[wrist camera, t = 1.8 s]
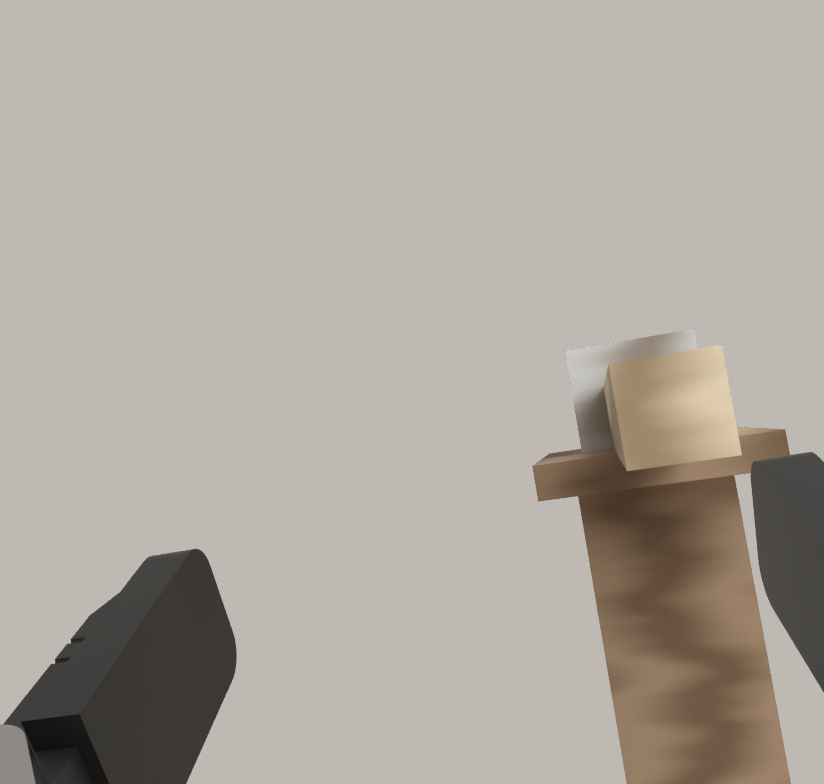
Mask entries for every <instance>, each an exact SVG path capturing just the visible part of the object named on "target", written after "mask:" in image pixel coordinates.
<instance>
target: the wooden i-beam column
mask: <svg viewBox="0 0 824 784" xmlns="http://www.w3.org/2000/svg"><path fill="white" fill-rule="evenodd" d="M737 431H738V436H739V441H740V447H741V452H742V455H740V456H733V457H726V458H719V459H711V460H704V461H697V462H690V463H683V464H675V465H668V466H661V467H654V468H647V469H639V470H632V471H627V470H626V469H625V467H624V465H623V464H622V462H621V460H620V458H619V457H618V455H617V453H616V451H615V450H614V449H612V450H606V451H599V452H592V453H585V454H582V449H578V450H571V451H564V452H557V453H551V454H548V455H547V456H546V457H544V458H543V459H541V460H540V461H539V462H537V463H536V464H535V465H533V472H534V478H535V484H536V490H537V496H538V501H544V500H552V499H559V498H567V497H574V496H578V497H579V503H580V508H581V515H582V521H583V526H584V533H585V539H586V544H587V550H588V556H589V562H590V568H591V574H592V580H593V586H594V592H595V598H596V604H597V610H598V616H599V622H600V627H601V633H602V639H603V645H604V651H605V657H606V663H607V669H608V675H609V680H610V686H611V693H612V699H613V705H614V710H615V716H616V722H617V728H618V734H619V740H620V746H621V752H622V758H623V763H624V770H625V776H626V782H627V784H791V783H790V777H789V772H788V766H787V761H786V755H785V750H784V744H783V739H782V734H781V728H780V722H779V718H778V712H777V706H776V701H775V696H774V690H773V684H772V679H771V674H770V668H769V663H768V657H767V652H766V646H765V641H764V635H763V630H762V624H761V620H760V613H759V608H758V602H757V597H756V592H755V586H754V581H753V575H752V570H751V564H750V559H749V553H748V548H747V543H746V537H745V532H744V526H743V521H742V515H741V510H740V504H739V499H738V494H737V488H736V482H735V478H734V475H739V474H746V473H751V467H752V463H753V462H754V461H757V460H764V459H770V458H776V457H782V456H789V455H790V453H789V448H788V443H787V437H786V432H785V430H784V429H766V428H748V427H737Z"/></svg>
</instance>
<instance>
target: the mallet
mask: <svg viewBox="0 0 824 784" xmlns="http://www.w3.org/2000/svg"><path fill="white" fill-rule="evenodd" d="M565 354H566V360H567V365H568V372H569V378H570V384H571V389H572V396H573V402H574V407H575V413H576V419H577V425H578V431H579V437H580V443H581V449H582V454H585V453H592V452H599V451H606V450H612V449H614V450H615V451H616V453H617V455H618V457H619V458H620V460H621V462H622V464H623V465H624V467H625V469H626V470H627V471H632V470H639V469H647V468H654V467H661V466H668V465H675V464H683V463H690V462H697V461H704V460H711V459H719V458H726V457H733V456H740V455H742V452H741V447H740V441H739V436H738V431H737V426H736V420H735V414H734V409H733V404H732V398H731V393H730V387H729V382H728V376H727V371H726V365H725V360H724V355H723V349H722V345H718V346H712V347H706V348H700V349H698V348H697V342H696V337H695V331H694V329H690V330H685V331H679V332H673V333H667V334H662V335H656V336H650V337H645V338H639V339H634V340H628V341H622V342H616V343H611V344H605V345H599V346H593V347H588V348H582V349H576V350H571V351H565Z"/></svg>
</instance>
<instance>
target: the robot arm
mask: <svg viewBox="0 0 824 784" xmlns="http://www.w3.org/2000/svg"><path fill="white" fill-rule="evenodd" d="M751 485H752V496H753V507H754V518H755V528H756V539H757V550H758V560H759V567H760V572H761V577H762V581H763V585H764V588H765V591H766V594H767V597H768V599H769V601H770V604H771V606H772V608H773V609H774V611H775V613H776V614H777V616H778V618H779V619H780V621H781V623H782V624H783V626H784V628H785V629H786V631H787V632H788V634H789V636H790V637H791V639H792V641H793V642H794V644H795V646H796V647H797V649H798V650H799V652H800V654H801V655H802V657H803V659H804V661H805V662H806V664H807V665H808V667H809V669H810V670H811V672H812V674H813V675H814V677H815V679H816V680H817V682H818V684H819V685H820V687H821V688H822V690H823V692H824V462H823V461H822V460H821V459H820V458H819V457H818V456H817V455H815V454H814V453H812V452H808V453H802V454H795V455H789V456H782V457H776V458H770V459H764V460H757V461H754V462H753V463H752V467H751ZM235 668H236V644H235V638H234V635H233V631H232V628H231V626H230V622H229V620H228V617H227V614H226V611H225V608H224V605H223V602H222V599H221V596H220V594H219V591H218V587H217V584H216V581H215V578H214V575H213V573H212V569H211V567H210V564H209V561H208V559H207V557H206V556H205V554H204V553H203V552H202V551H200V550H199V549H192V550H186V551H180V552H174V553H167V554H161V555H155V556H150V557H148V558H147V559H146V560H145V561H144V562H143V563H142V565H141V566H140V567H139V569H138V570H137V571H136V572H135V574H134V575H133V576H132V578H131V579H130V580H129V581H128V583H127V584H126V585H125V587H124V588H123V589H122V591H121V592H120V593H118V594H117V595H116V596H115V597H113V598H112V599H111V600H109V601H108V602H107V603H106V604H104V605H103V606H102V607H100V608H99V609H98V610H97V611H95V612H94V613H93V614H91V615H90V616H89V617H88V619H87V620H86V621H85V622H84V624H83V625H82V626H81V627H80V629H79V630H78V631H77V632H76V634H75V635H74V636H73V637H72V639H71V644H67V645H66V646H65V647H64V649H63V650H62V651H61V652H60V654H59V655H58V656H57V658H56V659H55V664H51V665H50V666H49V668H48V669H47V670H46V671H45V673H44V674H43V675H42V676H41V678H40V679H39V680H38V682H37V683H36V684H35V685H34V686H33V688H32V689H31V690H30V691H29V693H28V694H27V695H26V696H25V698H24V699H23V700H22V701H21V703H20V704H19V705H18V707H17V708H16V709H15V710H14V711H13V713H12V714H11V715H10V717H9V718H8V719H7V720H6V722H5V723H4V724H3V725H0V784H186V783H187V780H188V778H189V776H190V774H191V772H192V769H193V767H194V765H195V763H196V760H197V758H198V756H199V754H200V751H201V749H202V747H203V745H204V742H205V740H206V738H207V735H208V733H209V731H210V729H211V727H212V724H213V722H214V720H215V718H216V715H217V713H218V711H219V709H220V706H221V704H222V702H223V700H224V698H225V695H226V693H227V691H228V689H229V686H230V684H231V682H232V679H233V677H234V673H235Z"/></svg>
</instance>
